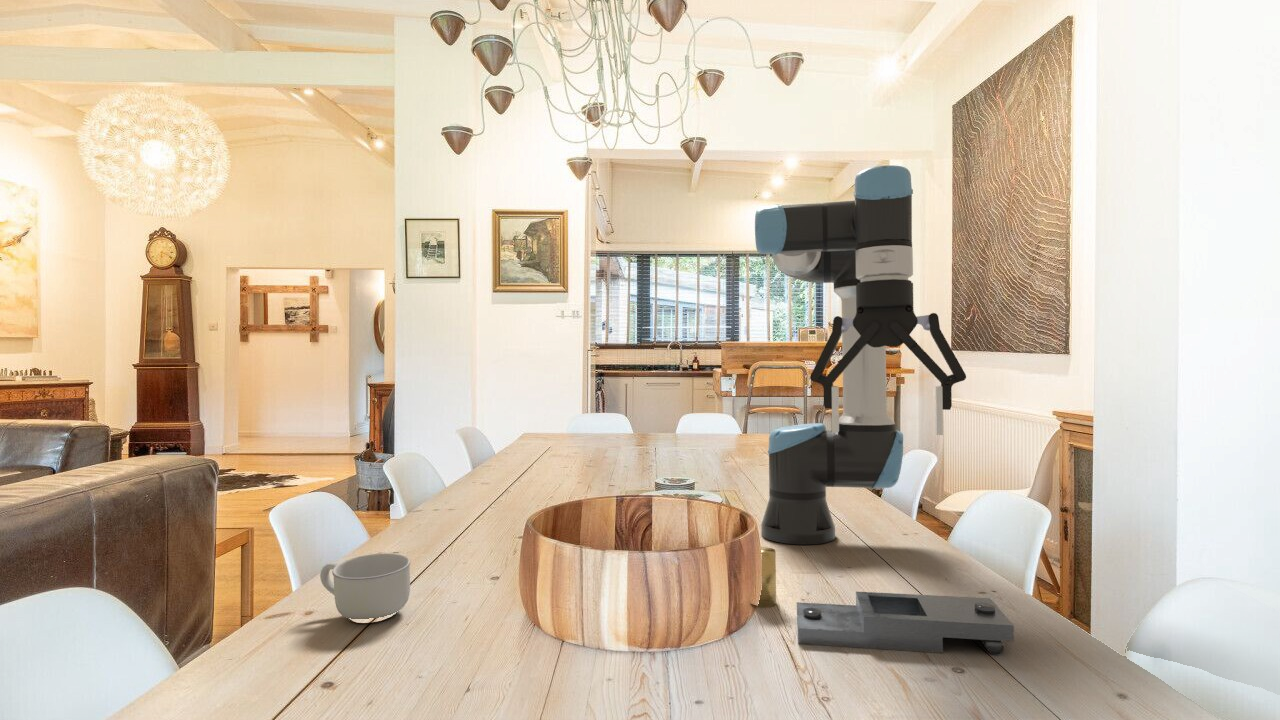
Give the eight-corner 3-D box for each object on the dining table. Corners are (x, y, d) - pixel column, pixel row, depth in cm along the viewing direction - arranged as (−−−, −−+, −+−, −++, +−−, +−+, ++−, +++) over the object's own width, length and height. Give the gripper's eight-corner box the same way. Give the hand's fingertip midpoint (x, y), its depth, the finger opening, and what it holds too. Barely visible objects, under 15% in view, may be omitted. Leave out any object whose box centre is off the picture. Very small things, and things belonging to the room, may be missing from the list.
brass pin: (750, 597, 110) (749, 546, 110) (776, 598, 109) (775, 547, 109) (749, 606, 106) (748, 553, 106) (776, 607, 105) (775, 554, 105)
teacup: (426, 609, 106) (425, 557, 106) (371, 635, 97) (370, 577, 97) (358, 597, 112) (358, 547, 112) (300, 621, 103) (299, 566, 103)
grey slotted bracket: (796, 616, 102) (796, 584, 102) (990, 627, 96) (990, 593, 96) (798, 643, 92) (797, 608, 92) (1014, 657, 87) (1013, 620, 87)
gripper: (789, 282, 98) (791, 433, 98) (986, 272, 90) (989, 438, 90) (796, 287, 105) (798, 428, 105) (979, 278, 97) (982, 432, 97)
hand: (886, 433), depth 98 cm, fingers open, 13 cm apart
